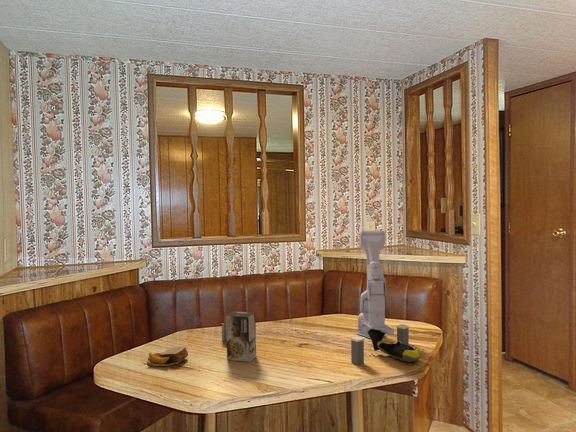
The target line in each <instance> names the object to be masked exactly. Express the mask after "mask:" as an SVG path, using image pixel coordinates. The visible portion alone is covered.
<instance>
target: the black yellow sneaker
mask: <svg viewBox="0 0 576 432" xmlns="http://www.w3.org/2000/svg"><path fill="white" fill-rule="evenodd" d="M377 347H378V348H379V351H380V352H382V353H383V354H385V355H388V356H390V357H391V358H392V359H398V360H400V361H402V362H404V361H405V362H408V363H409V362H413V363H414V362H417V360H419V359H420V356H421V355H420V354H421V353H420V349H421V347H418V346H417V347H413V346H411V345H409V346H408V345H405V344H401V341H397V340H396V341H395V342H393V343H390V342H387V341H383V340H382V341H379V342H378V344H377Z"/></svg>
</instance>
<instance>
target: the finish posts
mask: <svg viewBox="0 0 576 432" xmlns="http://www.w3.org/2000/svg"><path fill="white" fill-rule="evenodd" d="M395 328H396V342H397V341H401V344H405V345H408V346H410V345H409V334H410V333H409V328H410V325H407V324H403V323H401V324H398V325H395ZM365 338H366V337H363V336H362V337H361V336H360V335H359V336H358V335H356V336H353V337H350V347H351V348H350V350H351V352H350V354H351V355H350V356H351V357H350V358H351V364H353V365H356V366H359V365H362V364H365V357H364V356H365V352H364V351H365V350H364V349H365V345H364V343H365Z"/></svg>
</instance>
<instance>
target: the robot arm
mask: <svg viewBox="0 0 576 432" xmlns="http://www.w3.org/2000/svg"><path fill="white" fill-rule="evenodd" d="M385 245H386V232H385V230H384V229H381V230H360V231H359V246H360V247H359V248H360V250H362V251H364V253H365V254H366V290H364V291H363V292H362V293H361V294H360V297H359V298H360V299H359V300H360V302H359V310H360V313H359V314H358V317H357V332H356V335H357V336H358V335H359V336H360V337H361V336H362V337H363V338H367V339H370V340H371V344H372V347H373V351H380V349H379V348H378V347H377V344H378V342H379V341H383V338H384V337H386V335H389V336H394V335H395V328H393V327H390V326H389V325H387V324H386V322H385V321H386V319H385V317H386V313H385V311H386V310H385V309H386V303H385V302H386V299H385V297H386V295H387V283H386V279H385V276H384V267H383V266H384V265H382V263H380V251H381V250H384V248H385Z"/></svg>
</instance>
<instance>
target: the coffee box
mask: <svg viewBox="0 0 576 432" xmlns="http://www.w3.org/2000/svg"><path fill="white" fill-rule="evenodd" d="M256 322H257V321H256V312H254V311H253V312H251V311H238V310H237V311H236V310H233V311H231V312H229V313H228V314H226V315H225V324H226V333H227V342H226V360H227V361H235V362H243V363H244V362H246V363H251V362H252V361H253V360H254V359H255V358H257V331H256V330H257V329H256V327H257V324H256Z"/></svg>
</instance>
